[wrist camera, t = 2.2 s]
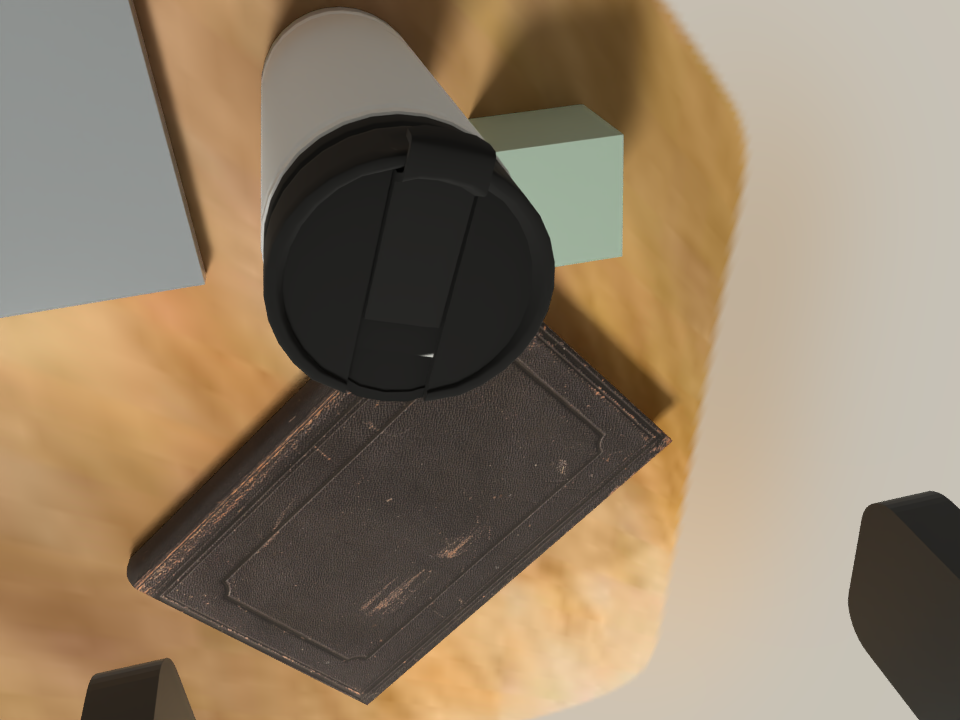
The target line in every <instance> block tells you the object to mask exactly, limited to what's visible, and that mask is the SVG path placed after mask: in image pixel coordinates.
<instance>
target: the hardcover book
mask: <svg viewBox="0 0 960 720" xmlns="http://www.w3.org/2000/svg"><path fill="white" fill-rule="evenodd" d="M671 442H672V440H671V439H670V438H669V437H668V436H667V435H666V434H665V433H664V432H663V431H662V430H661V429H660V428H659V427H658V426H656V425H655V424H654V423H653V422H652V421H651V420H650V419H649V418H648V417H647V416H646V415H644V414H643V413H642V412H641V411H640V410H639V409H638V408H637V407H636V406H635V405H634V404H632V403H631V402H630V401H629V400H628V399H627V398H626V397H625V396H624V395H623V394H621V393H620V392H619V391H618V390H617V389H616V388H615V387H614V386H613V385H612V384H611V383H609V382H608V381H607V380H606V379H605V378H604V377H603V376H602V375H601V374H600V373H599V372H597V371H596V370H595V369H594V368H593V367H592V366H591V365H590V364H589V363H588V362H587V361H585V360H584V359H583V358H582V357H581V356H580V355H579V354H578V353H577V352H576V351H575V350H573V349H572V348H571V347H570V346H569V345H568V344H567V343H566V342H565V341H564V340H562V339H561V338H560V337H559V336H558V335H557V334H556V333H555V332H554V331H553V330H552V329H550V328H549V327H548V326H547V325H546V324H545V323H544V322H542V324H541V326H540V328H539V330H538V332H537V334H536V335H535V337H534V338H533V339H532V341H531V342H530V343H529V345H528V346H527V347H526V349H525V350H524V351H523V353H522V354H521V355H520V356H519V357H518V358H517V359H515V360H514V361H513V362H512V363H511V364H510V365H509V366H508V367H507V368H506V369H505V370H504V371H502V372H501V373H499V374H498V375H496V376H495V377H493V378H492V379H491V380H489V381H488V382H486V383H485V384H483V385H481V386H479V387H477V388H475V389H473V390H470V391H468V392H466V393H464V394H462V395H460V396H454V397H448V398H443V399H437V400H431V401H426V402H424V399H423V397H421V398H418V399H415V400H412V401H408V402H399V401H379V400H373V399H368V398H363V397H358V396H355V395H354V394H352V393H351V392H349V391H347V390H346V393H343V392H340V391H338V390H336V389H333V388H331V387H329V386H326V385H324V384H321V383H319V382H317V381H314V380H312V379H310V380H309V381H308V382H307V383H306V384H305V385H304V386H303V387H302V388H301V389H300V390H299V391H298V392H297V393H296V394H295V395H294V396H293V397H292V398H291V399H290V400H289V401H288V402H287V403H286V404H285V405H284V406H283V407H282V408H281V409H280V410H279V411H278V412H277V413H276V414H275V415H274V416H273V417H272V418H271V419H270V420H269V421H268V422H267V423H266V424H265V425H264V426H263V427H262V428H261V429H260V430H259V431H258V432H257V433H256V434H255V435H254V436H253V437H252V438H251V439H250V440H249V441H248V442H247V443H246V444H245V445H244V446H243V447H242V448H241V449H240V450H239V451H238V452H237V453H236V454H235V455H234V456H233V457H232V458H231V459H230V460H229V461H228V462H227V463H226V464H225V465H224V466H223V467H222V468H221V469H220V470H219V471H218V472H217V473H216V474H215V475H214V476H213V477H212V478H211V479H210V480H209V481H208V482H207V483H206V484H205V485H203V486H202V487H201V488H200V489H199V490H198V491H197V492H196V493H195V494H194V495H193V496H192V497H191V498H190V499H189V500H188V501H187V502H186V503H185V504H184V505H183V506H182V507H181V508H180V509H179V510H178V511H177V512H176V513H175V514H174V515H173V516H172V517H171V518H170V519H169V520H168V521H167V522H166V523H165V524H164V525H163V526H162V527H161V528H160V529H159V530H158V531H157V532H156V533H155V534H154V535H153V536H152V537H151V538H150V539H149V540H148V541H147V542H146V543H145V544H144V545H143V546H142V547H141V548H140V549H139V550H138V551H137V552H136V553H135V554H134V555H133V556H132V557H131V558H130V560H129V563H128V566H127V577H128V580H129V582H130V583H131V584H132V586H133V587H134V588H135V589H137V590H139V591H141V592H143V593H145V594H147V595H149V596H151V597H153V598H155V599H157V600H159V601H161V602H163V603H165V604H167V605H169V606H171V607H173V608H175V609H177V610H179V611H181V612H183V613H185V614H187V615H189V616H191V617H193V618H195V619H197V620H199V621H201V622H203V623H205V624H207V625H209V626H211V627H213V628H215V629H217V630H219V631H221V632H223V633H225V634H227V635H229V636H231V637H233V638H235V639H237V640H239V641H241V642H243V643H245V644H247V645H249V646H251V647H253V648H255V649H257V650H259V651H261V652H263V653H265V654H267V655H268V656H270V657H272V658H274V659H276V660H278V661H280V662H282V663H284V664H286V665H288V666H290V667H292V668H294V669H296V670H298V671H300V672H302V673H304V674H306V675H308V676H310V677H312V678H314V679H316V680H318V681H320V682H322V683H324V684H326V685H328V686H330V687H332V688H334V689H336V690H338V691H340V692H342V693H344V694H346V695H348V696H350V697H352V698H354V699H356V700H358V701H360V702H362V703H364V704H366V705H368V704H369V703H370V702H371V701H373V700H374V699H375V698H376V697H377V696H378V695H379V694H381V693H382V692H383V691H384V690H385V689H386V688H388V687H389V686H390V685H391V684H392V683H393V682H395V681H396V680H397V679H398V678H399V677H400V676H401V675H403V674H404V673H405V672H406V671H407V670H408V669H410V668H411V667H412V666H413V665H414V664H415V663H416V662H418V661H419V660H420V659H421V658H422V657H423V656H425V655H426V654H427V653H428V652H429V651H430V650H432V649H433V648H434V647H435V646H436V645H437V644H438V643H440V642H441V641H442V640H443V639H444V638H445V637H447V636H448V635H449V634H450V633H451V632H452V631H453V630H455V629H456V628H457V627H458V626H459V625H460V624H462V623H463V622H464V621H465V620H466V619H467V618H469V617H470V616H471V615H472V614H473V613H474V612H475V611H477V610H478V609H479V608H480V607H481V606H482V605H484V604H485V603H486V602H487V601H488V600H489V599H490V598H492V597H493V596H494V595H495V594H496V593H497V592H499V591H500V590H501V589H502V588H503V587H504V586H506V585H507V584H508V583H509V582H510V581H511V580H512V579H514V578H515V577H516V576H517V575H518V574H519V573H521V572H522V571H523V570H524V569H525V568H526V567H527V566H529V565H530V564H531V563H532V562H533V561H534V560H536V559H537V558H538V557H539V556H540V555H541V554H543V553H544V552H545V551H546V550H547V549H548V548H549V547H551V546H552V545H553V544H554V543H555V542H556V541H558V540H559V539H560V538H561V537H562V536H563V535H564V534H566V533H567V532H568V531H569V530H570V529H571V528H573V527H574V526H575V525H576V524H577V523H578V522H579V521H581V520H582V519H583V518H584V517H585V516H586V515H588V514H589V513H590V512H591V511H592V510H593V509H595V508H596V507H597V506H598V505H599V504H600V503H601V502H603V501H604V500H605V499H606V498H607V497H608V496H610V495H611V494H612V493H613V492H614V491H615V490H616V489H618V488H619V487H620V486H621V485H622V484H623V483H625V482H626V481H627V480H628V479H629V478H630V477H632V476H633V475H634V474H635V473H636V472H637V471H638V470H640V469H641V468H642V467H643V466H644V465H645V464H647V463H648V462H649V461H650V460H651V459H652V458H653V457H655V456H656V455H657V454H658V453H659V452H660V451H662V450H663V449H664V448H665V447H666V446H667V445H669V444H670V443H671Z"/></svg>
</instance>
